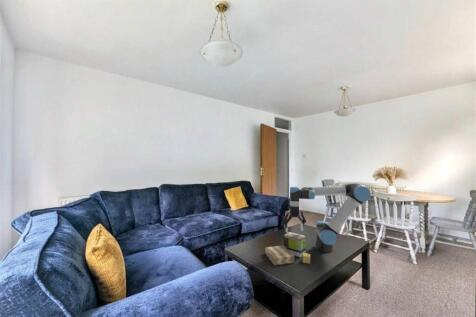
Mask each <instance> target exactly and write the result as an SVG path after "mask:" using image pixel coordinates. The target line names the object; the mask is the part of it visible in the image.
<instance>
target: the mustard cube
mask: <svg viewBox="0 0 476 317" xmlns="http://www.w3.org/2000/svg"><path fill="white" fill-rule="evenodd" d="M302 263H303V264H304V263H305V264H309V265H310V264H311V254H310V253H307V252H306V253H303V256H302Z"/></svg>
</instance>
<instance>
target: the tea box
mask: <svg viewBox="0 0 476 317" xmlns="http://www.w3.org/2000/svg"><path fill="white" fill-rule="evenodd" d="M306 237H307V236H306V235H303V234H300V233H296V232H291V231H288V233H287V232H286V233H285V234H284V235H283V246H284V247H286V248H287V249H288V250H289V251H290V252H291V253H292V254H293V255H294V256H296V257H298V258H303V253H307V243H306V242H307V241H306Z"/></svg>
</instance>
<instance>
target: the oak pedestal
mask: <svg viewBox="0 0 476 317" xmlns="http://www.w3.org/2000/svg"><path fill="white" fill-rule="evenodd" d="M264 251H265V252H264V254H265V255H266V256H267V258H268V257H269V258H268V259H269V260H270V261H271V263H272V264H273V265H274V266H278V265H279V266H280V265H287V264H294V263H295V261H296V260H295V258H296V257H295V255H293V254H292V253H291V252H290V251H289V250H288V249H287V248H286V247H284V245H277V246H275V245H274V246H266V247H265V250H264Z"/></svg>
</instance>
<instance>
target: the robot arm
mask: <svg viewBox="0 0 476 317" xmlns="http://www.w3.org/2000/svg"><path fill="white" fill-rule="evenodd" d="M322 196H323V197H324V196H343V197H347V198H346V200H344V203H343V204H342V205H341V206H340V208H339V209H338V210H337V212H336V213H335V214H334V215H333V217H332V218H331V219H330V221H324V220H323V221H322V220H318V221H316V222H315V241H314V243H313V247H314V249H315V250H316V251H319V252H322V253H331V252H333V251H334V246H333V245H334V244H335V243H337V239H338V238H337V237H338V236H339V234H340V229H341V228H342V226H343V225H344V224H345V223H346V221H347V220H348V219H349V218H350V216H352V214H353V212H354V211H356V209H357V208H358V207H359V206H362V205H363V204H364V203H365V202H367V201H369V200H370V199H371V197H372V193H371V190H370V188H369V187H368V186H366V185H365V184H360V183H348V184H347V183H345V184H342V185H337V186H336V185H334V186H333V185H332V186H331V185H329V186H315V187H314V186H313V187H306V186H303V187H301V189H300V187H299V186H290V188H289V211H286V213H285V215H284V217H283V220H282V224H284V229H285V232H286V234H287V233H289V223H290V221H291V219H293V218H298V220H299V221H300V231H301V232H304V228H305V224H306V223H307V220H306V218H305V216H304V213H303V211H302V210H300V200H314V199H315V197H322Z"/></svg>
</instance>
